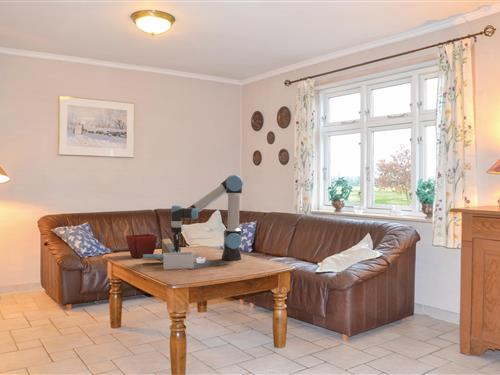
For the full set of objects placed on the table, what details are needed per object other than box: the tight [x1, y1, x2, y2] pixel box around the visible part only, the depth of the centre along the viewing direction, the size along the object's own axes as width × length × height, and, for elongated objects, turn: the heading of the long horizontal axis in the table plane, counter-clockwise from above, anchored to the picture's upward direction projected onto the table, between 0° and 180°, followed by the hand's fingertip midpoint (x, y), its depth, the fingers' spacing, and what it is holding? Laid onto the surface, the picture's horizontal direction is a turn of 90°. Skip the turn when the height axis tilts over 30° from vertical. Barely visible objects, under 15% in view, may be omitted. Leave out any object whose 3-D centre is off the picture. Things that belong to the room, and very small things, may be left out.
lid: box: [142, 246, 182, 260], centre depth 323 cm, size 27×13×6 cm, turn 104°
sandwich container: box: [161, 238, 174, 260], centre depth 345 cm, size 9×15×15 cm, turn 53°
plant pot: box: [125, 233, 158, 259], centre depth 353 cm, size 19×19×17 cm
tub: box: [162, 251, 195, 271], centre depth 308 cm, size 20×12×10 cm, turn 104°
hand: (176, 258), depth 326 cm, fingers closed on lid, 4 cm apart
